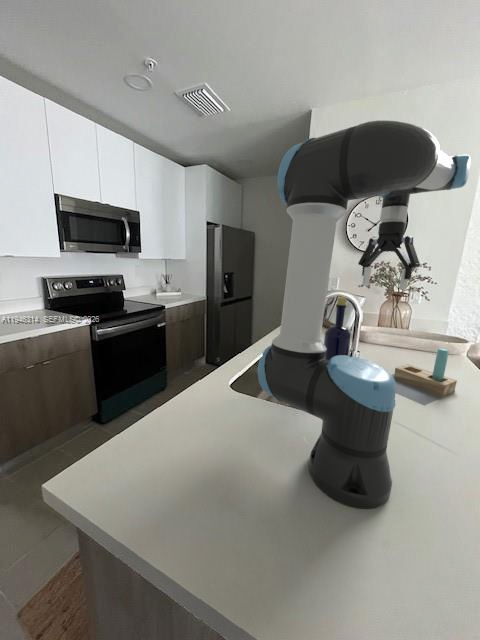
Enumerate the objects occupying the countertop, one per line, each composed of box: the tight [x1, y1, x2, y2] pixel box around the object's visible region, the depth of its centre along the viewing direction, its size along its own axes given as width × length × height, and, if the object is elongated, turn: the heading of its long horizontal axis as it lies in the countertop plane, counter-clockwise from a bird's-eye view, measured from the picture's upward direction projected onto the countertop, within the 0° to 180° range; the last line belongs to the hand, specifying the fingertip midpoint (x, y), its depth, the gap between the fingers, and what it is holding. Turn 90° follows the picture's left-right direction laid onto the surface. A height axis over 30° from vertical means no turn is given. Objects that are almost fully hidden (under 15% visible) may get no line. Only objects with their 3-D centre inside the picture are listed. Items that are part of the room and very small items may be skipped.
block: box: [393, 363, 458, 398], centre depth 95 cm, size 8×16×4 cm, turn 30°
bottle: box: [323, 296, 352, 360], centre depth 94 cm, size 9×9×30 cm
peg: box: [432, 348, 450, 382], centre depth 91 cm, size 3×3×14 cm
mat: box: [391, 373, 452, 406], centre depth 94 cm, size 20×18×1 cm
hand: (382, 287), depth 93 cm, fingers open, 13 cm apart
